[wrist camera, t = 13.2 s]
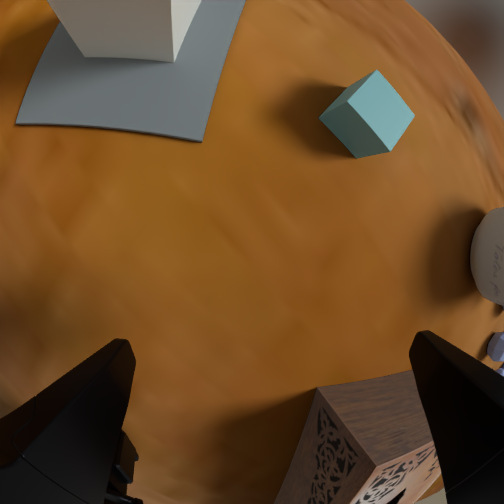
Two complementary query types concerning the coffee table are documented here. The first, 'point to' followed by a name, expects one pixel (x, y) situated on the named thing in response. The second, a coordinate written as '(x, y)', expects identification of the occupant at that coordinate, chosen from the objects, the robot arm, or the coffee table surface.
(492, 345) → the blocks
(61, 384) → the robot arm
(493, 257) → the teacup
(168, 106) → the mat
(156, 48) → the tall white pillar
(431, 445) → the tissue box cover
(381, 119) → the block
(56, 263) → the coffee table surface
